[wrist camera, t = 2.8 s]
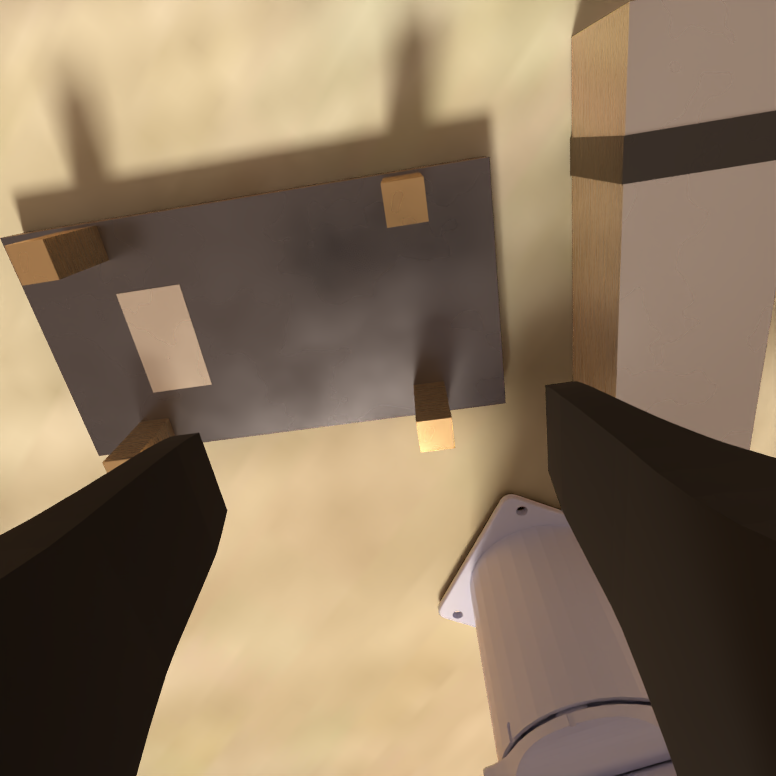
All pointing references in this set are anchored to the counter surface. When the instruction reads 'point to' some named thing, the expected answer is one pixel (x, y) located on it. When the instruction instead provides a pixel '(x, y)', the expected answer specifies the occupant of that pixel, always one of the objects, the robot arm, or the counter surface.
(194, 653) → the counter surface
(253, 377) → the grey peg board
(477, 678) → the counter surface
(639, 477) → the robot arm
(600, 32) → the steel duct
